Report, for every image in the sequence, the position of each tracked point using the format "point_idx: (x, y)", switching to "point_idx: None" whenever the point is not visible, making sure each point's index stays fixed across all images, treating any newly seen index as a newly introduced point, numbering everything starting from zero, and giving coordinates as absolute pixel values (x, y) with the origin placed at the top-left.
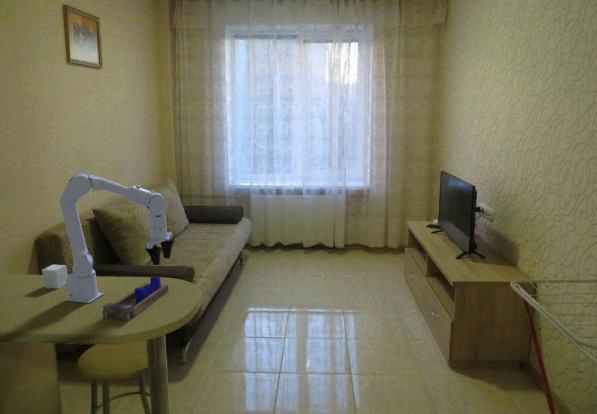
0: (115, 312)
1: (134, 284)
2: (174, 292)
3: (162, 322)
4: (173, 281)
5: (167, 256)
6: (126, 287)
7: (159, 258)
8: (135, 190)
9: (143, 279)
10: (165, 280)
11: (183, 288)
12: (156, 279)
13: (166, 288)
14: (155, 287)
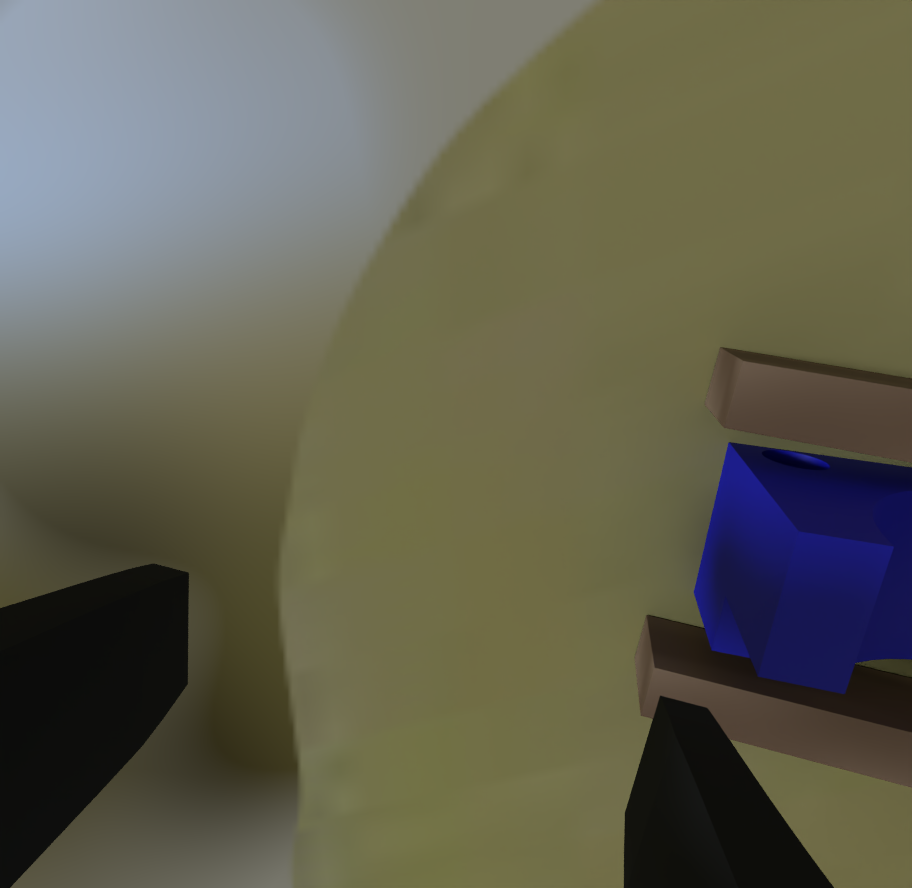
0: None
1: (482, 801)
2: (768, 241)
3: None
4: (367, 400)
5: (152, 636)
6: (568, 856)
7: (752, 848)
8: None
9: (341, 747)
10: (346, 510)
11: (612, 157)
12: (876, 566)
13: (787, 365)
14: (880, 522)
